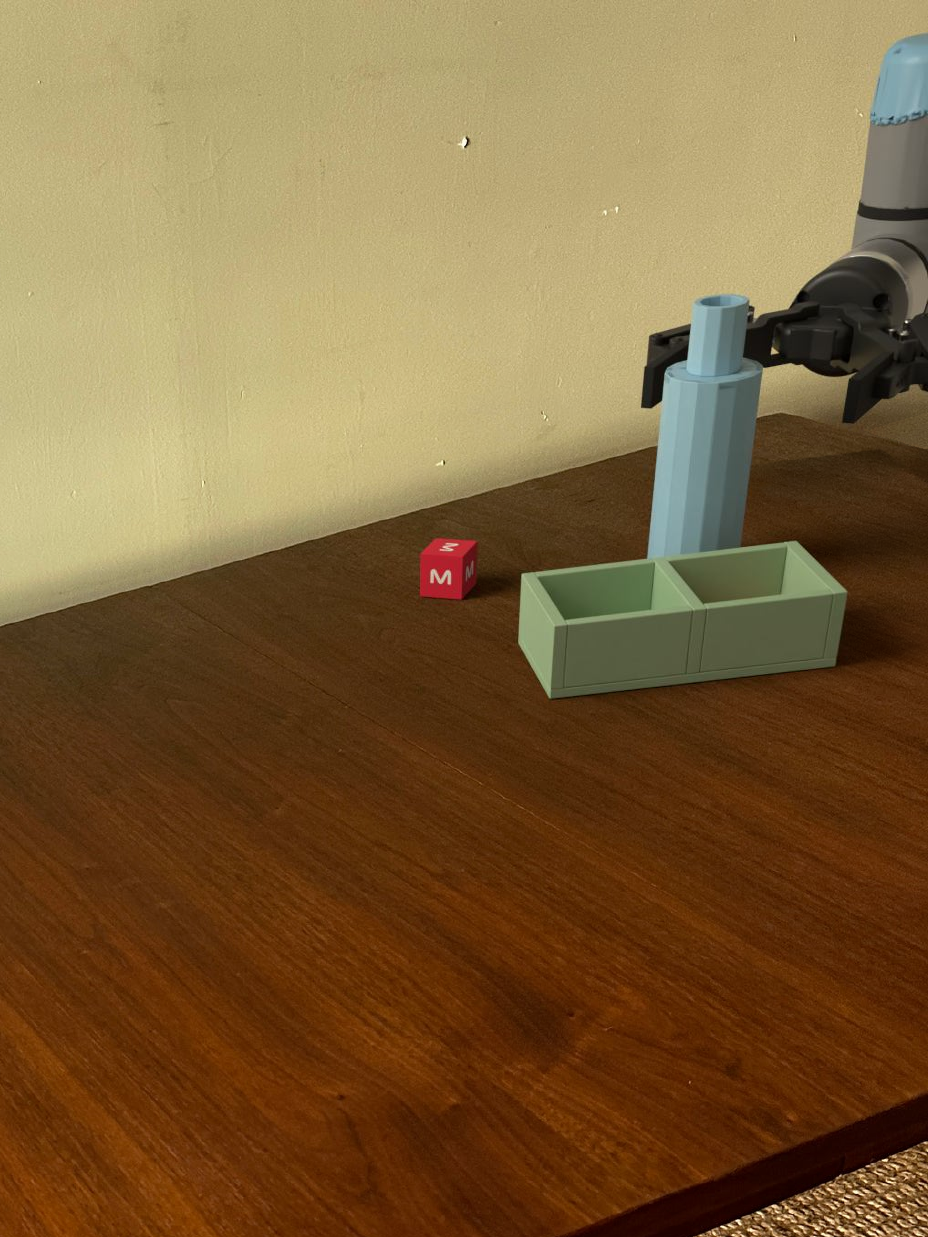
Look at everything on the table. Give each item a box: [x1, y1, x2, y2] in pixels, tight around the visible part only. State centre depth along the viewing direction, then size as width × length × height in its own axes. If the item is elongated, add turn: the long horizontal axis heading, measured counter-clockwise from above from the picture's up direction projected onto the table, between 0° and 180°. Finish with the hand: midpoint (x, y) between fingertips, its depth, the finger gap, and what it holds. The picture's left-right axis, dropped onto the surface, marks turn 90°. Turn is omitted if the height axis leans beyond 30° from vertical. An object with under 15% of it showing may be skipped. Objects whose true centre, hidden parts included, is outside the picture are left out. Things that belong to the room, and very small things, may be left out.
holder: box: [517, 540, 848, 700], centre depth 108 cm, size 17×9×5 cm, turn 90°
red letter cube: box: [419, 537, 479, 601], centre depth 121 cm, size 3×3×3 cm
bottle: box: [646, 293, 764, 559], centre depth 114 cm, size 6×6×17 cm
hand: (746, 394), depth 117 cm, fingers open, 13 cm apart
